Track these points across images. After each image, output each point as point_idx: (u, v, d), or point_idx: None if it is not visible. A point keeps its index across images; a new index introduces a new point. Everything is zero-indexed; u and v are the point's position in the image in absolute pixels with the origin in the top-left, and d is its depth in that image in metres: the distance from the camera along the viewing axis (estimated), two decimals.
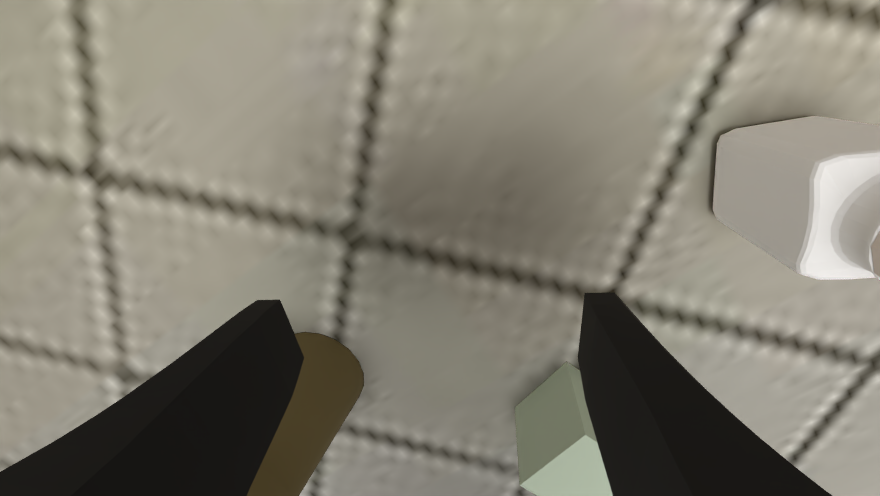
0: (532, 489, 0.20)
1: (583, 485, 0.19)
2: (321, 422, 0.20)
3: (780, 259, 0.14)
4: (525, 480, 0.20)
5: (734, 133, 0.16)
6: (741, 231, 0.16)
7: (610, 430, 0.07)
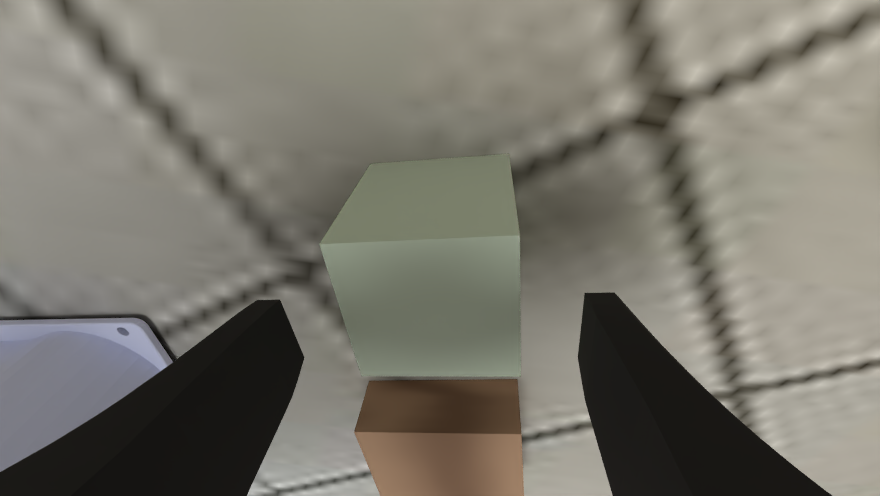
0: (334, 266, 0.10)
1: (422, 313, 0.10)
2: None
3: None
4: (337, 243, 0.09)
5: None
6: None
7: (610, 430, 0.07)
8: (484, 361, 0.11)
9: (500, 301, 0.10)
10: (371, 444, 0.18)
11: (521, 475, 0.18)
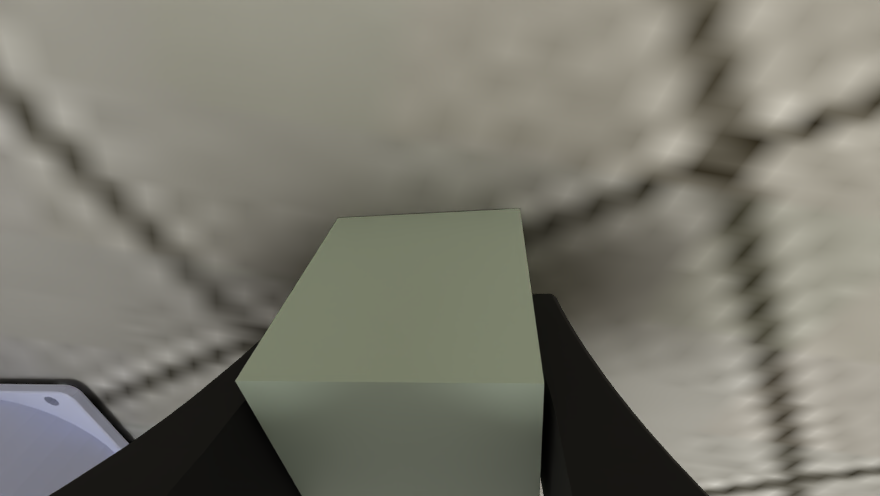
0: (261, 407, 0.06)
1: (395, 464, 0.07)
2: None
3: None
4: (262, 379, 0.06)
5: None
6: None
7: None
8: None
9: (510, 458, 0.06)
10: None
11: None
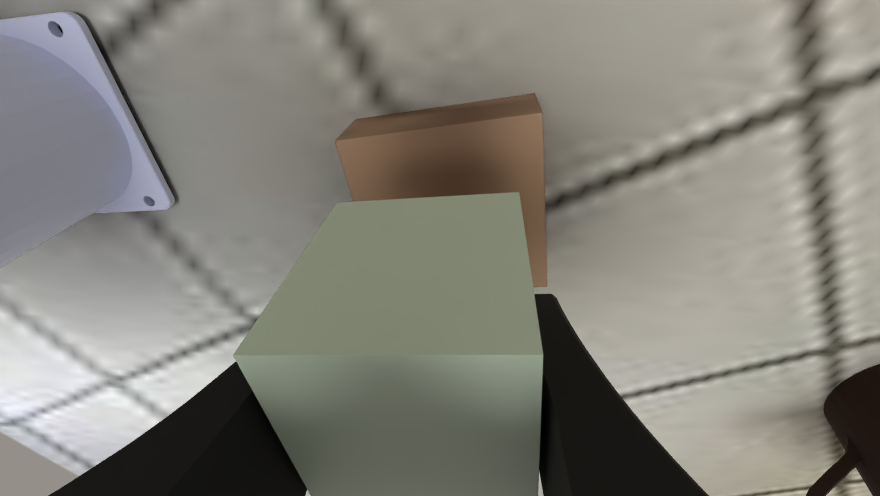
0: (259, 383, 0.06)
1: (394, 442, 0.07)
2: None
3: None
4: (260, 354, 0.06)
5: None
6: None
7: None
8: None
9: (510, 435, 0.06)
10: (356, 163, 0.14)
11: (542, 200, 0.14)
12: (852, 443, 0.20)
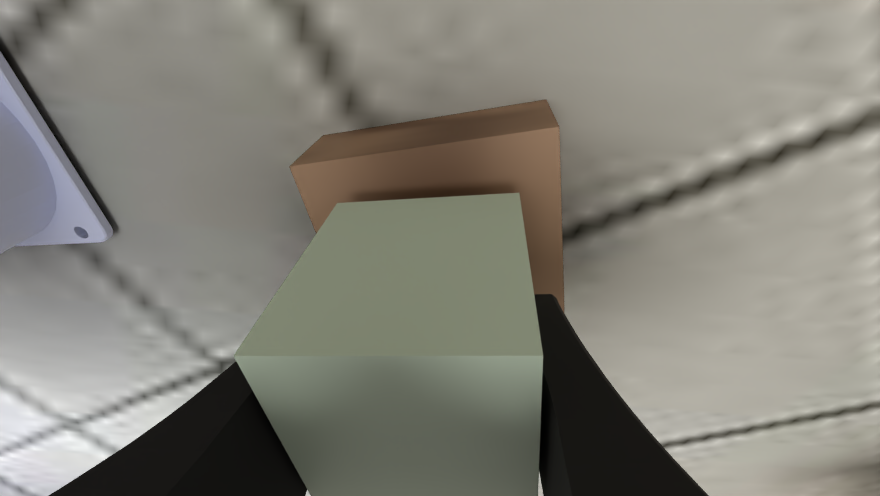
0: (259, 383, 0.06)
1: (394, 443, 0.07)
2: None
3: None
4: (260, 354, 0.06)
5: None
6: None
7: None
8: None
9: (510, 435, 0.06)
10: (319, 194, 0.11)
11: (559, 237, 0.11)
12: None
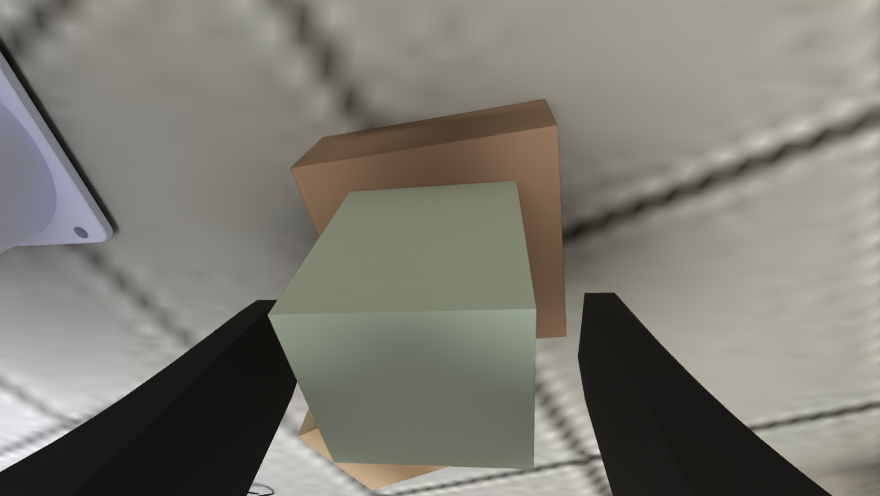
0: (289, 341, 0.07)
1: (406, 396, 0.08)
2: None
3: None
4: (291, 313, 0.07)
5: None
6: None
7: (611, 430, 0.07)
8: (487, 451, 0.09)
9: (509, 386, 0.07)
10: (321, 196, 0.11)
11: (559, 235, 0.11)
12: None
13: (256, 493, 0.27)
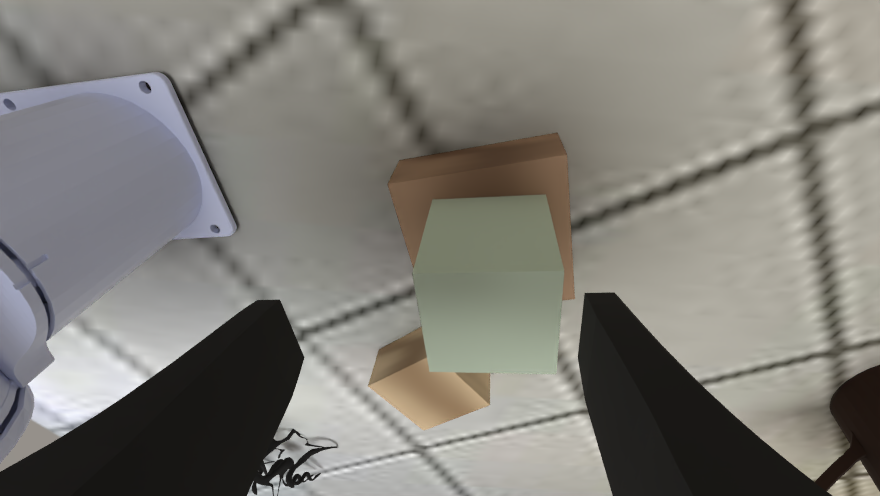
0: (420, 289, 0.13)
1: (484, 324, 0.13)
2: None
3: None
4: (425, 273, 0.12)
5: None
6: None
7: (610, 430, 0.07)
8: (528, 362, 0.14)
9: (545, 317, 0.13)
10: (406, 202, 0.17)
11: (569, 226, 0.17)
12: (856, 438, 0.22)
13: None
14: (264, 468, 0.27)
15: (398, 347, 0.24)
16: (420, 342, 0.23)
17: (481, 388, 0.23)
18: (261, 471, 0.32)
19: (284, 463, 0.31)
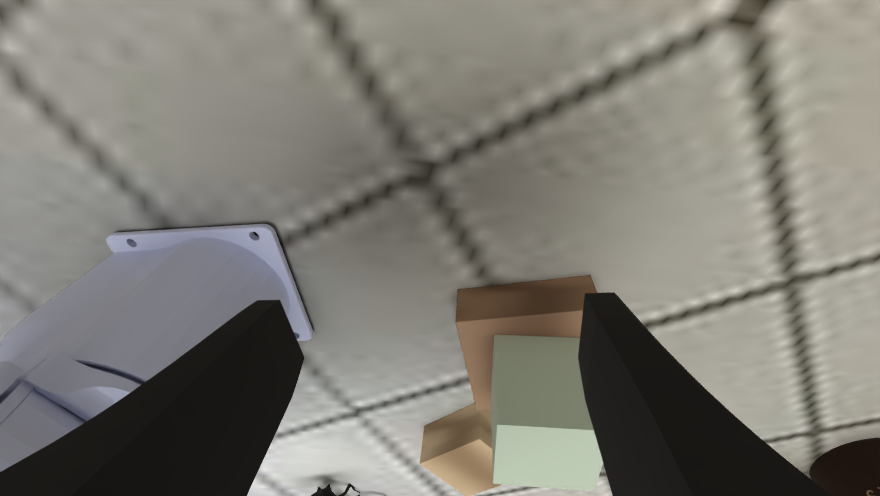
0: (501, 434, 0.17)
1: (544, 458, 0.17)
2: None
3: None
4: (507, 424, 0.16)
5: None
6: None
7: (611, 430, 0.07)
8: (573, 482, 0.18)
9: (593, 457, 0.17)
10: (469, 334, 0.21)
11: None
12: None
13: None
14: None
15: (443, 426, 0.28)
16: (464, 424, 0.27)
17: None
18: None
19: None
